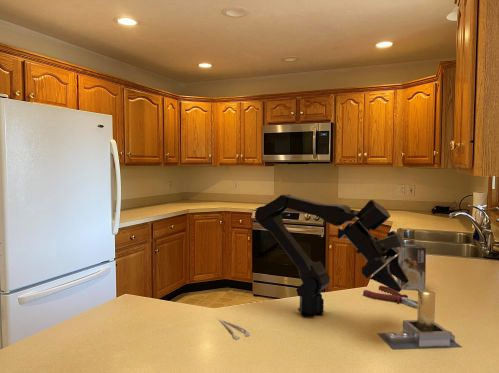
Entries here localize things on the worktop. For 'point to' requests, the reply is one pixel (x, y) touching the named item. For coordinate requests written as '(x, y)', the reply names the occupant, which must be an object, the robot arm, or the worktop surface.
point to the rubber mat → (411, 344)
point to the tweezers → (235, 328)
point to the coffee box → (413, 266)
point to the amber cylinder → (426, 311)
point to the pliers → (391, 296)
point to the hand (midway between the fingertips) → (404, 286)
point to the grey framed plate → (421, 336)
